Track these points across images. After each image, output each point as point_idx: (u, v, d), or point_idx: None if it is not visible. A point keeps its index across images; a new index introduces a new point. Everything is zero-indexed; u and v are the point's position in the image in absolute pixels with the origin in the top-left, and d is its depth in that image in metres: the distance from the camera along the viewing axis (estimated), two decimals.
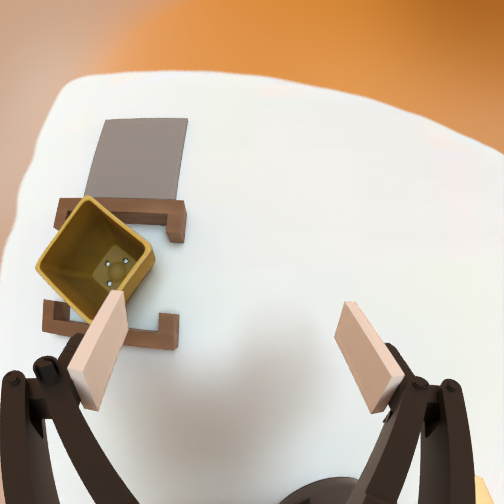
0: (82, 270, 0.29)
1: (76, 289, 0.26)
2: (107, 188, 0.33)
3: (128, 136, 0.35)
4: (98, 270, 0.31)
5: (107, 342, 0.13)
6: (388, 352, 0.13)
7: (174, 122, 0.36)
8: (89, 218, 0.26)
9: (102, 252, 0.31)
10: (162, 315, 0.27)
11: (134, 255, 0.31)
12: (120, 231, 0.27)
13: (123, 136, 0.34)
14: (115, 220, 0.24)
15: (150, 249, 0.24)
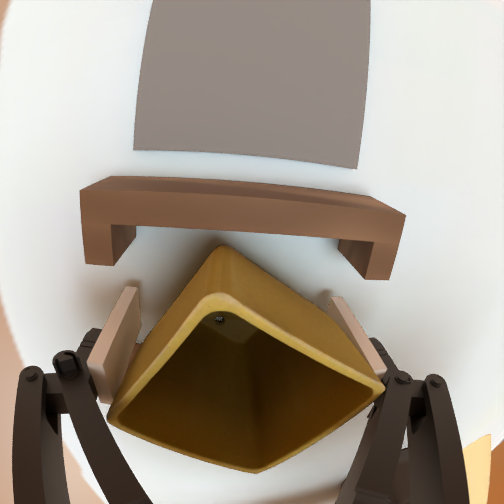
0: None
1: (182, 385, 0.15)
2: (195, 128, 0.14)
3: None
4: None
5: (123, 337, 0.13)
6: (371, 346, 0.13)
7: None
8: None
9: None
10: None
11: None
12: None
13: None
14: (318, 359, 0.09)
15: (381, 392, 0.11)
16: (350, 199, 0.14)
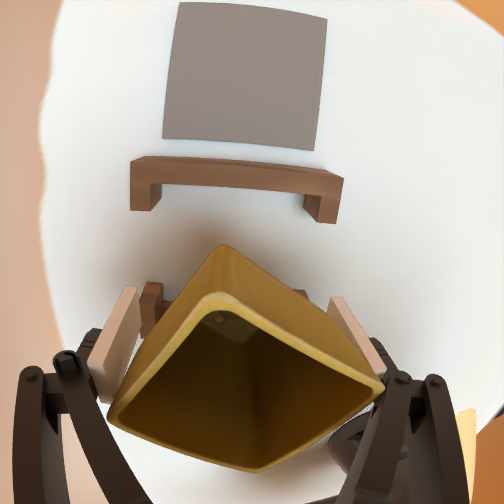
0: None
1: (182, 385, 0.15)
2: (204, 125, 0.21)
3: (229, 35, 0.18)
4: None
5: (123, 337, 0.13)
6: (371, 346, 0.13)
7: (306, 21, 0.18)
8: None
9: None
10: None
11: None
12: None
13: (220, 34, 0.18)
14: (318, 358, 0.09)
15: (381, 392, 0.11)
16: (307, 170, 0.22)
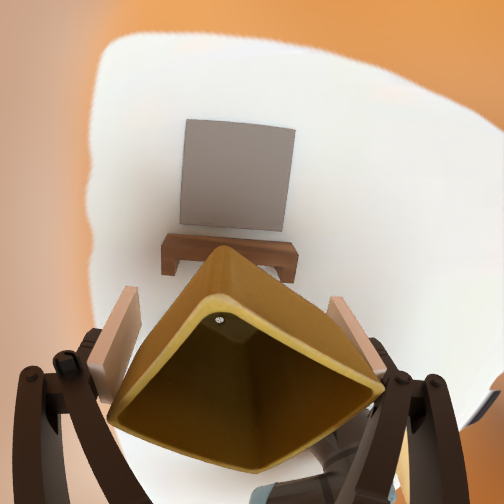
0: None
1: (182, 386, 0.15)
2: (207, 216, 0.34)
3: (223, 149, 0.31)
4: None
5: (124, 337, 0.13)
6: (371, 346, 0.13)
7: (279, 133, 0.31)
8: None
9: None
10: None
11: None
12: None
13: (217, 148, 0.31)
14: (318, 360, 0.09)
15: (381, 393, 0.11)
16: (275, 247, 0.34)
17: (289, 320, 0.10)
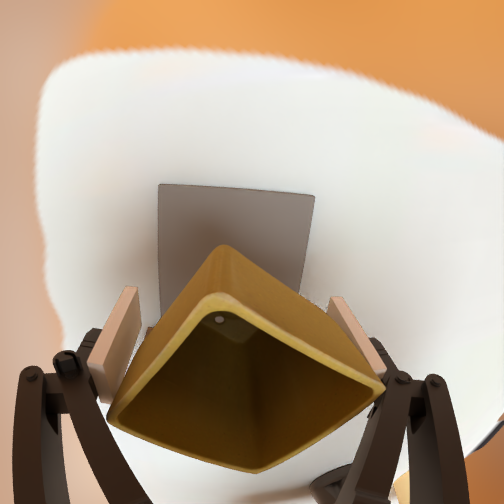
0: None
1: (182, 385, 0.15)
2: None
3: (213, 227, 0.23)
4: None
5: (123, 337, 0.13)
6: (371, 346, 0.13)
7: (292, 203, 0.23)
8: None
9: None
10: None
11: None
12: None
13: (203, 227, 0.23)
14: (318, 359, 0.09)
15: (382, 392, 0.11)
16: None
17: (289, 319, 0.10)
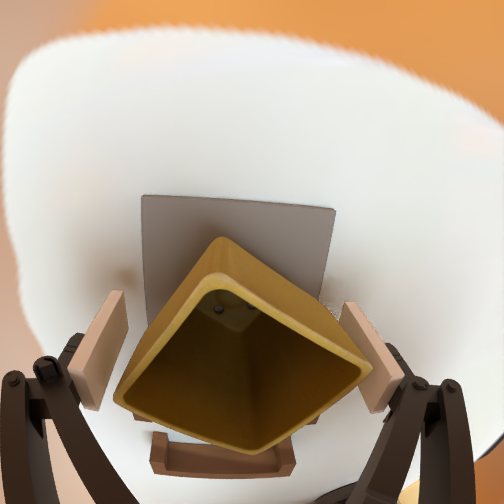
0: None
1: (184, 370, 0.16)
2: None
3: None
4: None
5: (107, 342, 0.13)
6: (387, 352, 0.13)
7: (309, 219, 0.18)
8: None
9: None
10: (284, 465, 0.25)
11: None
12: None
13: (198, 248, 0.18)
14: (307, 336, 0.10)
15: (369, 372, 0.12)
16: None
17: (281, 300, 0.11)
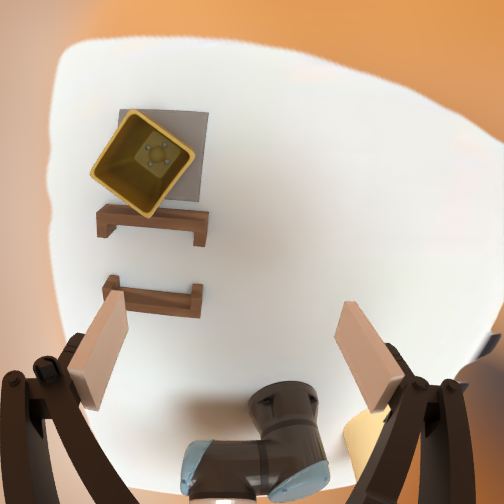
0: (126, 157, 0.34)
1: (125, 179, 0.32)
2: None
3: None
4: (139, 153, 0.35)
5: (107, 342, 0.13)
6: (388, 352, 0.13)
7: (194, 117, 0.35)
8: (133, 122, 0.28)
9: (143, 138, 0.34)
10: (192, 299, 0.41)
11: (173, 141, 0.35)
12: None
13: None
14: (162, 132, 0.27)
15: (194, 157, 0.28)
16: (190, 215, 0.38)
17: (156, 124, 0.27)
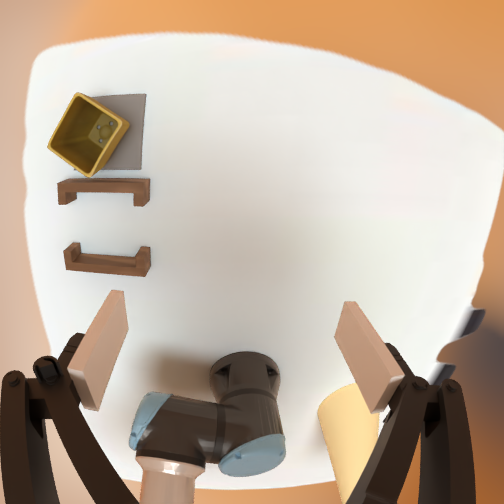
0: (80, 135, 0.37)
1: (77, 152, 0.35)
2: None
3: None
4: (92, 132, 0.39)
5: (107, 342, 0.13)
6: (388, 352, 0.13)
7: (134, 98, 0.38)
8: (81, 104, 0.32)
9: (94, 119, 0.37)
10: (137, 257, 0.44)
11: None
12: (104, 108, 0.33)
13: None
14: (97, 107, 0.30)
15: (121, 123, 0.31)
16: (132, 180, 0.41)
17: (95, 102, 0.31)
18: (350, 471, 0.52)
